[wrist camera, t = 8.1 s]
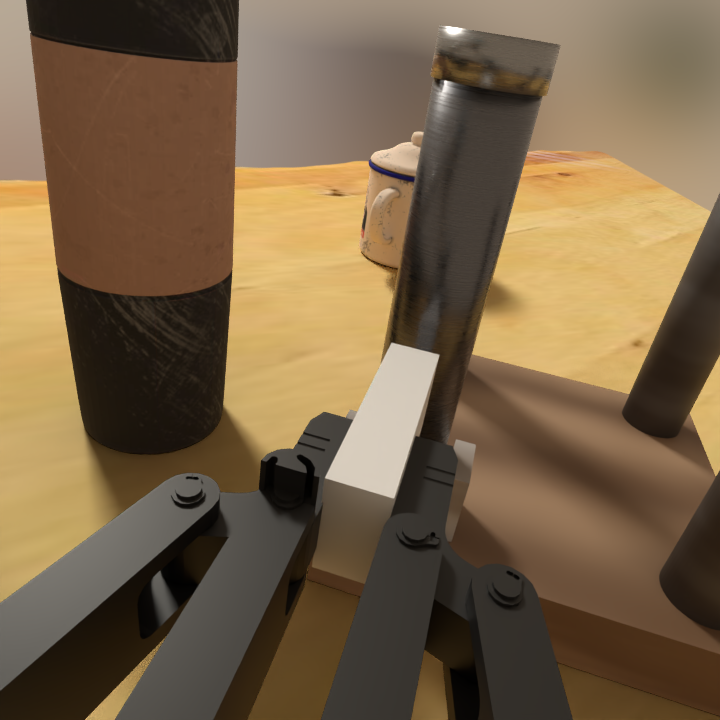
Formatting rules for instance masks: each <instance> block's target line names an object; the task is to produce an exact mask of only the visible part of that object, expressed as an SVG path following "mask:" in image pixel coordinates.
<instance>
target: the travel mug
mask: <svg viewBox="0 0 720 720" xmlns="http://www.w3.org/2000/svg"><path fill="white" fill-rule="evenodd" d="M26 4H27V12H28V21H29V29H30V31H31V33H30V38H31V46H32V55H33V64H34V73H35V82H36V89H37V99H38V107H39V117H40V125H41V134H42V143H43V151H44V160H45V169H46V177H47V186H48V195H49V204H50V213H51V221H52V230H53V239H54V247H55V256H56V264H57V269H58V277H59V284H60V290H61V296H62V302H63V308H64V314H65V320H66V326H67V332H68V339H69V345H70V351H71V357H72V363H73V369H74V375H75V381H76V387H77V394H78V399H79V405H80V410H81V416H82V420H83V423H84V426H85V428H86V430H87V431H88V433H89V434H90V435H91V436H92V438H93V439H95V440H96V441H97V442H99V443H101V444H102V445H104V446H106V447H109V448H111V449H114V450H118V451H122V452H127V453H135V454H157V453H165V452H171V451H175V450H179V449H182V448H185V447H188V446H190V445H193V444H195V443H197V442H199V441H200V440H202V439H204V438H205V437H206V436H208V435H209V434H210V433H211V432H212V431H213V430H214V429H215V427H216V426H217V425H218V423H219V421H220V418H221V415H222V409H223V399H224V386H225V372H226V357H227V342H228V328H229V313H230V298H231V283H232V267H233V227H234V185H235V141H236V100H237V60H236V59H237V57H238V16H239V13H238V12H239V0H26Z"/></svg>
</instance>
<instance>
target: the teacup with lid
mask: <svg viewBox="0 0 720 720" xmlns="http://www.w3.org/2000/svg"><path fill="white" fill-rule="evenodd" d="M423 133H424V132H414V133H413V135H412V142H406V143H402V144H399V145H397V146H395V147H394V148H392V149H389V150H381V151H377V152H375V153H374V154H373V155H372V156H371V159H370V160H369V166H370V167H371V168H370V175H369V182H368V189H367V196H366V202H365V209H364V216H363V223H362V230H361V236H360V243H359V247H360V250H361V252H362V253H363V254H364V255H365V256H366V257H368V258H369V259H371V260H373V261H375V262H377V263H380V264H383V265H386V266H389V267H393V268H398V267H399V262H400V257H401V251H402V246H403V240H404V235H405V230H406V224H407V219H408V213H409V208H410V203H411V197H412V192H413V186H414V181H415V176H416V170H417V165H418V159H419V154H420V149H421V143H422V138H423Z"/></svg>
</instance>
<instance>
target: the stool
mask: <svg viewBox="0 0 720 720" xmlns="http://www.w3.org/2000/svg"><path fill="white" fill-rule="evenodd" d="M719 355H720V194H719V196H718V198H717V201H716V203H715V205H714V208H713V210H712V212H711V214H710V216H709V218H708V221H707V223H706V225H705V227H704V230H703V232H702V234H701V236H700V238H699V241H698V243H697V245H696V247H695V250H694V252H693V254H692V256H691V259H690V261H689V263H688V265H687V267H686V270H685V272H684V274H683V276H682V279H681V281H680V283H679V285H678V287H677V290H676V292H675V294H674V296H673V299H672V301H671V303H670V305H669V307H668V310H667V312H666V314H665V316H664V319H663V321H662V323H661V325H660V328H659V330H658V332H657V334H656V336H655V339H654V341H653V343H652V345H651V348H650V350H649V352H648V354H647V356H646V359H645V361H644V363H643V365H642V368H641V370H640V372H639V374H638V377H637V379H636V381H635V383H634V385H633V388H632V390H631V392H630V394H626V393H622V392H618V391H614V390H610V389H606V388H602V387H598V386H594V385H590V384H586V383H582V382H578V381H574V380H570V379H567V378H563V377H559V376H555V375H551V374H547V373H543V372H539V371H535V370H531V369H527V368H523V367H519V366H515V365H511V364H507V363H503V362H499V361H496V360H492V359H488V358H484V357H480V356H476V355H471V359H470V362H469V366H468V370H467V373H466V377H465V381H464V384H463V388H462V391H461V395H460V399H459V402H458V406H457V410H456V413H455V417H454V421H453V424H452V428H451V432H450V435H449V439H448V442H447V445H451V446H453V448H454V451H455V453H456V456H457V458H458V464H457V469H456V474H455V480H454V485H453V490H452V495H451V501H450V506H449V511H448V517H447V522H446V528H445V534H446V538H447V541H448V543H449V544H450V546H451V548H452V549H453V550H454V551H455V552H456V553H457V555H458V556H460V557H461V558H462V559H464V560H465V561H467V562H468V563H470V564H471V565H473V566H475V567H476V568H480V567H482V566H484V565H486V564H502V565H506V566H509V567H512V568H514V569H515V570H517V571H519V572H520V573H522V574H524V576H525V577H526V578H527V579H528V580H529V581H530V582H531V583H532V584H533V586H534V588H535V590H536V592H537V594H538V597H539V601H540V604H541V608H542V611H543V615H544V619H545V622H546V626H547V629H548V633H549V636H550V640H551V644H552V647H553V651H554V654H555V658H556V661H557V662H558V663H561V664H564V665H567V666H570V667H573V668H576V669H579V670H582V671H585V672H588V673H591V674H594V675H597V676H600V677H603V678H606V679H609V680H612V681H615V682H618V683H621V684H624V685H627V686H630V687H633V688H636V689H639V690H642V691H645V692H648V693H651V694H654V695H657V696H660V697H664V698H667V699H670V700H673V701H676V702H679V703H682V704H685V705H688V706H691V707H694V708H697V709H700V710H703V711H706V712H709V713H712V714H715V715H718V716H720V471H719V473H718V474H717V476H716V477H715V474H714V472H713V469H712V467H711V464H710V462H709V460H708V457H707V455H706V452H705V450H704V447H703V445H702V442H701V440H700V438H699V435H698V433H697V430H696V428H695V425H694V423H693V420H692V418H691V416H690V411H691V409H692V407H693V405H694V403H695V401H696V399H697V398H698V396H699V394H700V392H701V390H702V388H703V386H704V384H705V382H706V380H707V378H708V376H709V374H710V373H711V371H712V369H713V367H714V365H715V363H716V361H717V359H718V357H719ZM356 414H357V411H353V410H350V411H349V412H348V414H347V416H346V418H348V419H352V420H354V418H355V416H356ZM312 562H313V557H312V560H311V562H310V564H309V570H308V577H307V579H308V580H311V581H314V582H317V583H320V584H323V585H326V586H329V587H332V588H335V589H338V590H341V591H344V592H347V593H350V594H353V595H356V596H359V597H361V594H362V591H363V588H364V585H365V584H363V583H360V582H357V581H354V580H351V579H348V578H345V577H342V576H338V575H335V574H332V573H329V572H326V571H323V570H320V569H317V568H314V567H312Z"/></svg>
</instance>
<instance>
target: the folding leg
mask: <svg viewBox="0 0 720 720" xmlns="http://www.w3.org/2000/svg"><path fill="white" fill-rule="evenodd" d="M559 49H560V45H557V44H552V43H546V42H540V41H535V40H529V39H523V38H516V37H511V36H505V35H498V34H492V33H486V32H480V31H474V30H467V29H461V28H454V27H448V26H439V31H438V36H437V42H436V48H435V53H434V59H433V64H432V70H431V76H432V77H434V79H433V84H432V89H431V95H430V100H429V106H428V111H427V116H426V122H425V127H424V133H423V138H422V143H421V149H420V154H419V159H418V165H417V170H416V176H415V181H414V186H413V192H412V197H411V203H410V208H409V213H408V219H407V224H406V230H405V235H404V240H403V246H402V251H401V257H400V262H399V267H398V273H397V278H396V284H395V289H394V294H393V300H392V305H391V310H390V316H389V321H388V327H387V332H386V337H385V343H384V348H383V354H382V359H381V363H382V361H383V359H384V357H385V355H386V353H387V351H388V349H389V347H390V345H391V343H395V344H399V345H403V346H407V347H411V348H415V349H419V350H422V351H426V352H430V353H434V354H438V355H439V359H438V364H437V368H436V372H435V376H434V380H433V384H432V388H431V392H430V396H429V401H428V405H427V409H426V413H425V417H424V421H423V425H422V429H421V432H420V436H419V437H422V438H425V439H429V440H433V441H436V442H440V443H443V444H447V442H448V439H449V435H450V432H451V428H452V424H453V421H454V417H455V413H456V410H457V406H458V402H459V399H460V395H461V391H462V388H463V384H464V381H465V377H466V373H467V370H468V366H469V362H470V359H471V355H472V351H473V348H474V344H475V341H476V337H477V333H478V330H479V326H480V322H481V319H482V315H483V311H484V308H485V304H486V300H487V297H488V293H489V290H490V286H491V282H492V279H493V275H494V271H495V268H496V264H497V260H498V257H499V253H500V249H501V246H502V242H503V239H504V235H505V231H506V228H507V224H508V220H509V217H510V213H511V209H512V206H513V202H514V198H515V195H516V191H517V188H518V184H519V180H520V177H521V173H522V169H523V166H524V162H525V158H526V155H527V151H528V147H529V144H530V140H531V137H532V133H533V129H534V126H535V122H536V118H537V115H538V111H539V107H540V104H541V100H542V96H546V95H547V92H548V89H549V85H550V82H551V78H552V75H553V71H554V67H555V64H556V60H557V56H558V53H559ZM380 365H381V364H380Z"/></svg>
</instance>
